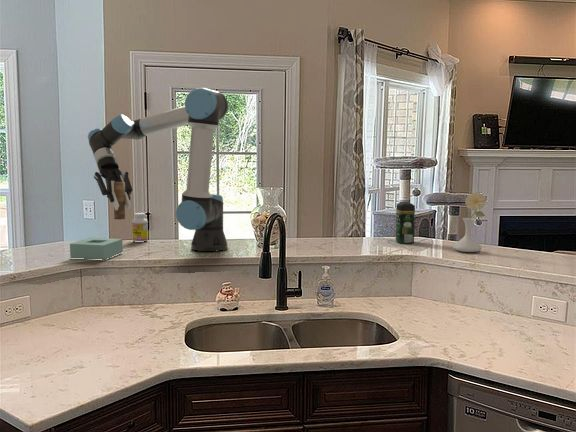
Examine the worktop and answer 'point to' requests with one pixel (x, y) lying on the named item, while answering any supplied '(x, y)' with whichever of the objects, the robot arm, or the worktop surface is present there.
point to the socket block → (96, 248)
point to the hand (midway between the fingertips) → (123, 207)
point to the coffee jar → (405, 222)
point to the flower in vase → (467, 241)
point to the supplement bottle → (140, 227)
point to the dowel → (120, 200)
